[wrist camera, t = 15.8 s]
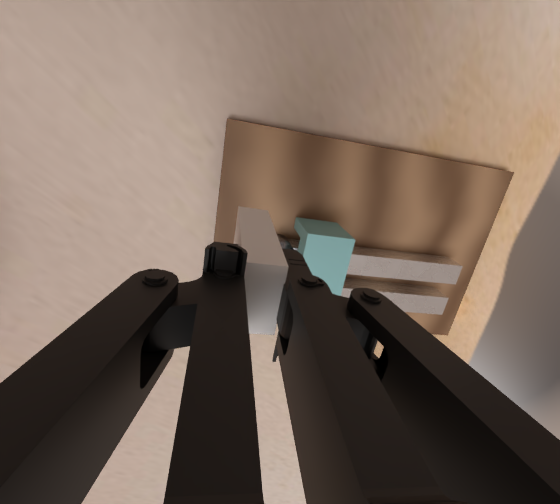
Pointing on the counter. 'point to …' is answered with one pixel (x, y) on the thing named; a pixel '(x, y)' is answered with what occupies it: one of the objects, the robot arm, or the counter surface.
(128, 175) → the counter surface
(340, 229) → the teal bridge block
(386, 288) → the bar
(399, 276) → the tong arm
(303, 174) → the board
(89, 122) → the counter surface
